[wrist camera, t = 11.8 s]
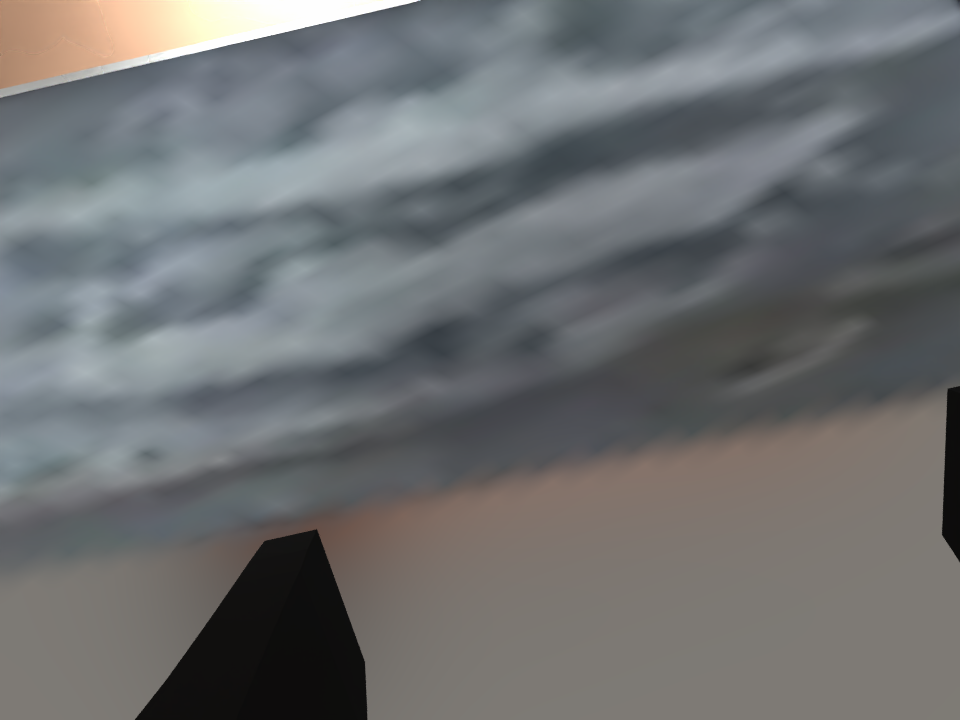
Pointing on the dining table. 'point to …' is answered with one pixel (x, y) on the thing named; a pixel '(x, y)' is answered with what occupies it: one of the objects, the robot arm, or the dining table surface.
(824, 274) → the dining table surface
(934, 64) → the dining table surface
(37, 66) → the orange-brown socket block
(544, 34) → the dining table surface
